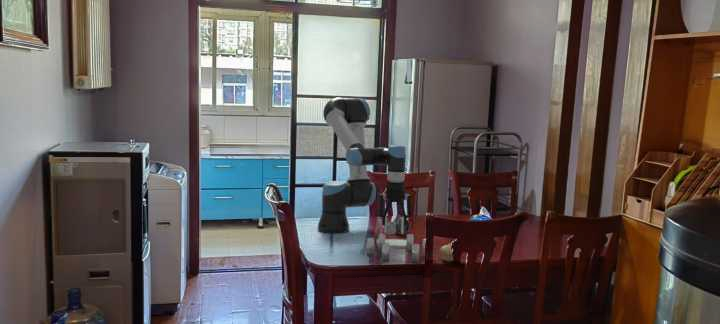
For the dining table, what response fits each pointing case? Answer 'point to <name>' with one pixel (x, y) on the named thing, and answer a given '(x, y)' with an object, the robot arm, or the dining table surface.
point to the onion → (446, 253)
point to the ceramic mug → (406, 228)
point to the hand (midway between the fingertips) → (393, 232)
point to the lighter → (393, 225)
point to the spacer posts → (386, 246)
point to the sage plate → (395, 243)
